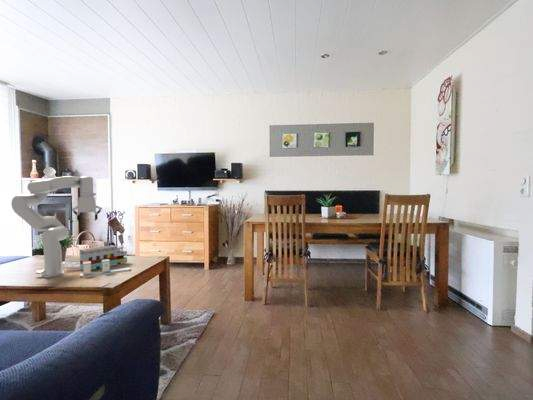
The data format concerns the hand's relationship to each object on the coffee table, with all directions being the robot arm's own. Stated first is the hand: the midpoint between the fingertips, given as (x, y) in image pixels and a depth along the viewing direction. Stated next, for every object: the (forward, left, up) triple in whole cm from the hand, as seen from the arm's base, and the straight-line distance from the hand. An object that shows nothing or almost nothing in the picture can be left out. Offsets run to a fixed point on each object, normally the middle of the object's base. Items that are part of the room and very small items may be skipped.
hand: (87, 220), depth 203 cm
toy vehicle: (+11, +17, -37) cm, 42 cm away
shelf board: (+10, -3, -36) cm, 38 cm away
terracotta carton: (-1, -3, -35) cm, 35 cm away
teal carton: (+10, -3, -35) cm, 37 cm away
